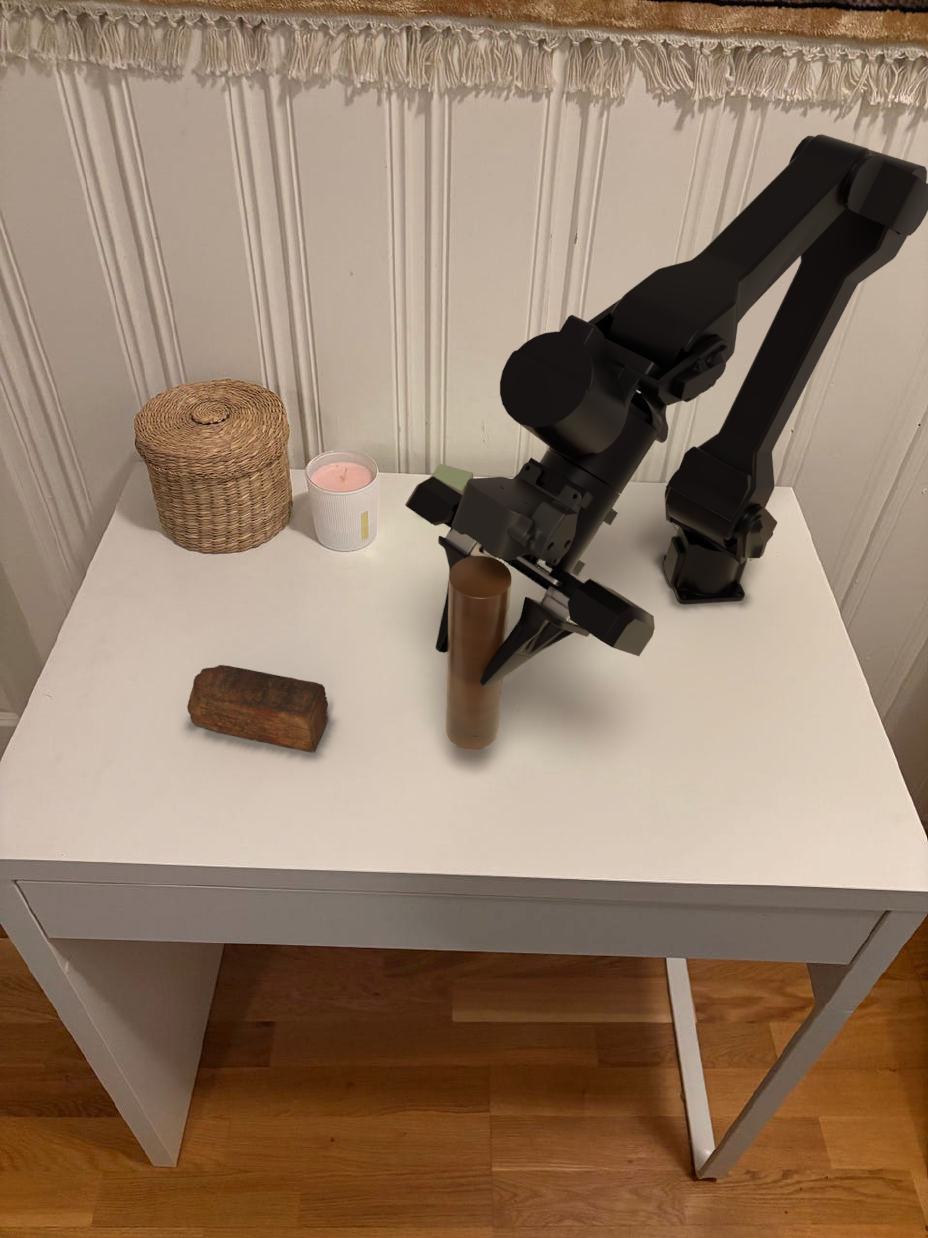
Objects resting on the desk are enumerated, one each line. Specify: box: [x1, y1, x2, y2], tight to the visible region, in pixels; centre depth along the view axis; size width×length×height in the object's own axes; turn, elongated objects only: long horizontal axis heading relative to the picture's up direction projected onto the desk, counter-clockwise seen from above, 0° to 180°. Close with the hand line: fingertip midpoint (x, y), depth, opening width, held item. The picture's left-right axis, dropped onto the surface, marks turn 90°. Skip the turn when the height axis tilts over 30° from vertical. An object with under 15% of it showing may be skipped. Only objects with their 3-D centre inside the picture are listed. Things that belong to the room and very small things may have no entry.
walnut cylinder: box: [445, 556, 513, 751], centre depth 65 cm, size 4×4×16 cm
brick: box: [186, 664, 329, 752], centre depth 75 cm, size 11×4×5 cm, turn 77°
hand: (461, 667), depth 64 cm, fingers closed on walnut cylinder, 4 cm apart
